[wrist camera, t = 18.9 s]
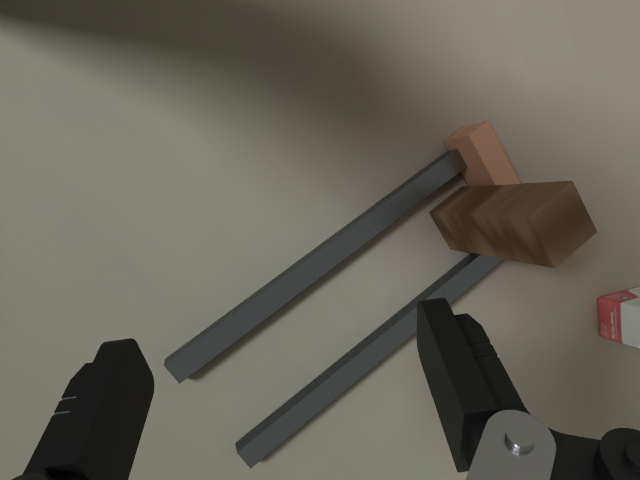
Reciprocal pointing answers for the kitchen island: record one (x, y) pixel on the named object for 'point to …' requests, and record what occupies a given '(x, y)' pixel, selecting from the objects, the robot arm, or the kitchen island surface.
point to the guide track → (307, 273)
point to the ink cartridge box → (620, 317)
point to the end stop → (482, 156)
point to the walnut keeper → (516, 221)
